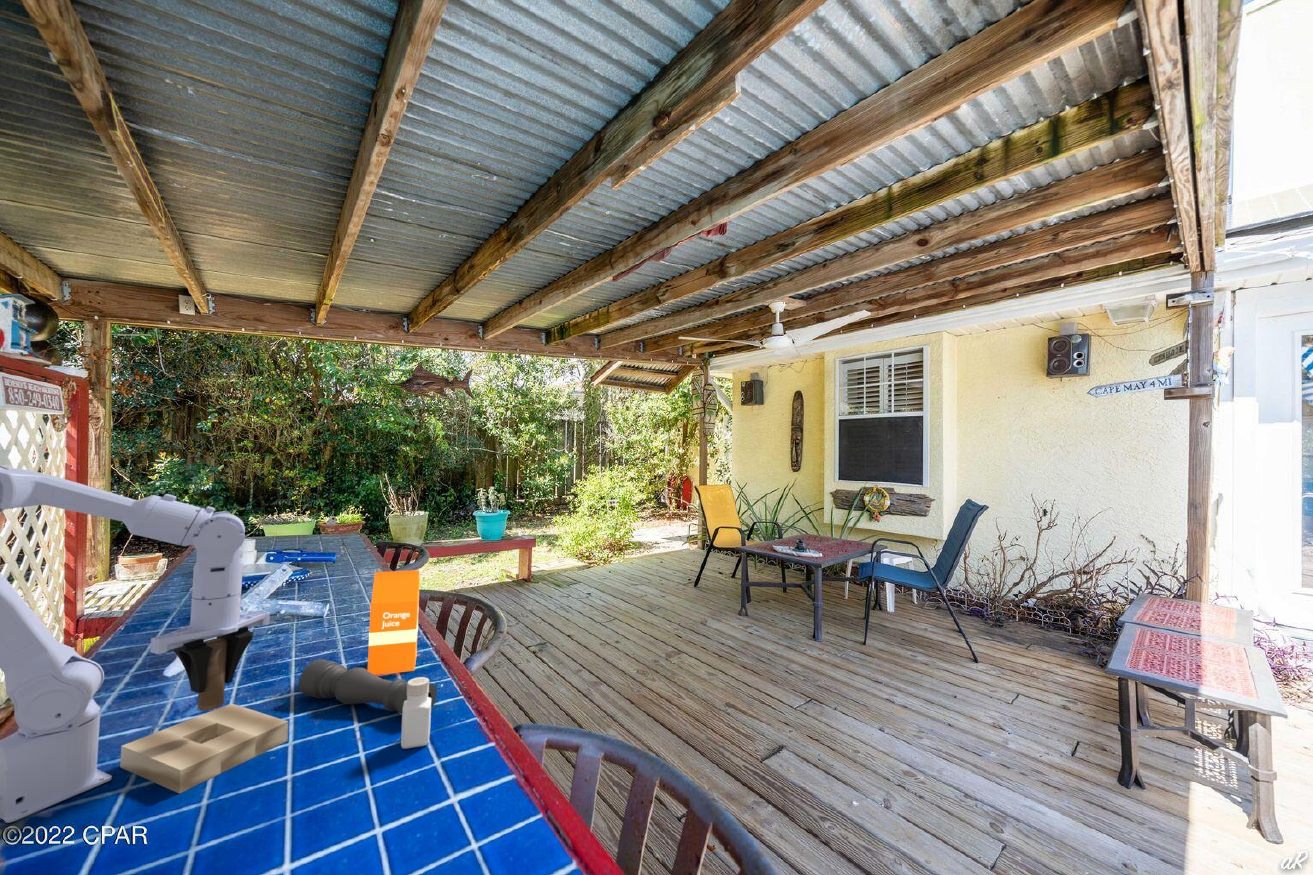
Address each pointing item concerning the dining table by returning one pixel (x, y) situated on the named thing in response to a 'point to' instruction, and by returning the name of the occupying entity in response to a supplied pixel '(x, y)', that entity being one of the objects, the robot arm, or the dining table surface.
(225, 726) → the socket block
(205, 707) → the walnut peg
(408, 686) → the pepper shaker
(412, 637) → the orange juice
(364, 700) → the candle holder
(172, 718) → the dining table surface
